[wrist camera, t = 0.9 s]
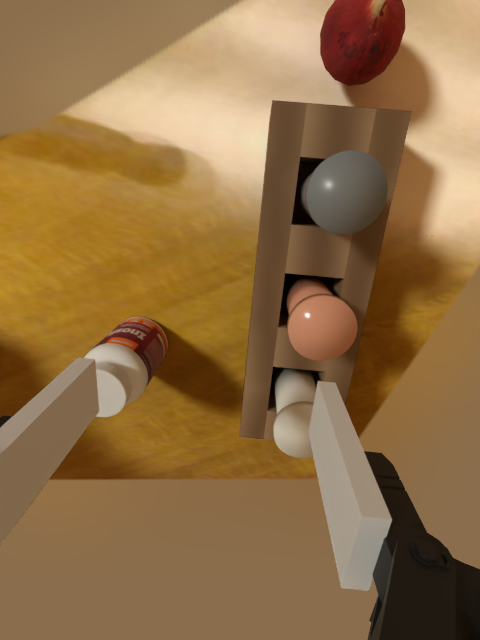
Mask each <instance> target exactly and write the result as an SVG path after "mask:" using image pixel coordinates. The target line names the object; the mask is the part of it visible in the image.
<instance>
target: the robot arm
mask: <svg viewBox="0 0 480 640" xmlns="http://www.w3.org/2000/svg"><path fill="white" fill-rule="evenodd" d="M98 412H99V402H98V389H97V376H96V363H95V359H89V358H77V359H76V360H75V361H74V362H73V363H72V364H70V365H69V366H68V367H67V368H66V369H65V370H64V371H63V372H61V373H60V374H59V375H58V376H57V377H56V378H55V379H54V380H53V381H51V382H50V383H49V384H48V385H47V386H46V387H45V388H44V389H43V390H41V391H40V392H39V393H38V394H37V395H36V396H35V397H34V398H33V399H31V400H30V401H29V402H28V403H27V404H26V405H25V406H24V407H23V408H21V409H20V410H19V411H18V412H17V413H16V414H15V415H14V416H13V417H11V416H3V417H1V418H0V545H1V544H2V543H3V541H4V540H5V538H6V537H7V536H8V534H9V533H10V532H11V530H12V529H13V528H14V526H15V525H16V524H17V522H18V521H19V519H20V518H21V517H22V515H23V514H24V513H25V511H26V510H27V509H28V507H29V506H30V505H31V503H32V502H33V500H34V499H35V498H36V496H37V495H38V494H39V492H40V491H41V490H42V488H43V487H44V486H45V484H46V483H47V481H48V480H49V479H50V477H51V476H52V475H53V473H54V472H55V471H56V469H57V468H58V467H59V465H60V464H61V462H62V461H63V460H64V458H65V457H66V456H67V454H68V453H69V452H70V450H71V449H72V448H73V446H74V445H75V443H76V442H77V441H78V439H79V438H80V437H81V435H82V434H83V433H84V431H85V430H86V429H87V427H88V426H89V424H90V423H91V422H92V420H93V419H94V418H95V416H96V415H97V414H98ZM308 433H309V438H310V443H311V448H312V452H313V457H314V462H315V466H316V471H317V476H318V480H319V485H320V490H321V495H322V499H323V504H324V509H325V513H326V518H327V522H328V527H329V532H330V537H331V541H332V546H333V551H334V556H335V560H336V565H337V570H338V574H339V579H340V584H341V588H348V589H357V590H367V591H369V588H370V585H371V582H372V579H373V578H374V581H375V585H376V588H377V591H378V598H377V601H376V603H375V606H374V609H373V612H372V615H371V618H370V621H371V627H370V632H369V636H368V640H480V569H477V568H475V567H472V566H470V565H467V564H465V563H462V562H460V561H458V560H456V559H454V558H453V557H452V555H451V554H450V552H449V551H448V549H447V548H446V547H445V546H444V545H443V544H442V543H441V542H440V541H439V540H438V539H436V538H435V537H433V536H432V535H430V534H428V533H427V532H426V530H425V528H424V526H423V524H422V522H421V520H420V518H419V516H418V514H417V512H416V510H415V508H414V506H413V504H412V502H411V500H410V498H409V496H408V494H407V492H406V491H405V488H404V486H403V484H402V482H401V480H399V476H398V474H397V472H396V470H395V468H394V466H393V464H392V463H391V462H390V461H389V460H388V459H387V458H386V457H385V456H384V455H383V454H382V453H376V452H366V451H363V448H362V446H361V443H360V441H359V438H358V436H357V434H356V431H355V429H354V426H353V424H352V422H351V419H350V417H349V414H348V412H347V409H346V407H345V405H344V402H343V400H342V397H341V395H340V393H339V390H338V388H337V385H336V383H334V382H324V381H318V383H317V388H316V394H315V399H314V404H313V410H312V415H311V420H310V426H309V431H308Z"/></svg>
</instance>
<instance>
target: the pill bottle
mask: <svg viewBox="0 0 480 640" xmlns="http://www.w3.org/2000/svg"><path fill="white" fill-rule="evenodd" d="M167 350H168V340H167V336H166V334H165V332H164V331H163V329H162V328H161V327H160V326H159V325H158V324H157V323H155V322H154V321H152V320H150V319H148V318H143V317H134V318H129V319H127V320H125V321H124V322H122V323H121V324H119V325H118V326H117V327H116V328H115V329H114V330H113V331H112V332H111V333H110V334H108V335H107V336H106V337H105V338H104V339H103V340H102V341H101V342H100V343H98V344H97V345H96V346H95V347H94V348H93V349H92V350H91V351H90V352H89V353H88V354H87V355H86V356H85V357H84V358H89V359H95V363H96V376H97V389H98V402H99V412H98V414H97V415H96V416H97V417H110V416H113V415H116V414H117V413H119V412H120V411H121V410H122V409H123V408H124V406H125V405H126V404H129V403H131V402H133V401H135V400H136V399H137V398H139V397H140V396H141V394H142V393H143V392H144V390H145V389H146V387H147V385H148V384H149V382H150V380H151V379H152V377H153V375H154V374H155V372H156V370H157V369H158V367H159V366H160V364H161V362H162V361H163V359H164V357H165V355H166V353H167Z"/></svg>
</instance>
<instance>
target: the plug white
mask: <svg viewBox="0 0 480 640" xmlns="http://www.w3.org/2000/svg"><path fill="white" fill-rule="evenodd" d="M274 385H275V397H276V409H277V415H276V417H275V419H274V423H273V432H274V440H275V442H276V444H277V446H278V447H279V449H280V450H282V451H283V452H284V453H286V454H287V455H290V456H292V457H296V458H311V457H313V452H312V448H311V443H310V438H309V433H308V431H309V426H310V420H311V415H312V410H313V404H314V399H315V394H316V385H315V382H314V378H313V375H312V374H311V372H310V371H309V370H304V369H293V368H282V369H281V370H280V371H279V372H278V373H277V374H276V376H275V380H274Z"/></svg>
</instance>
